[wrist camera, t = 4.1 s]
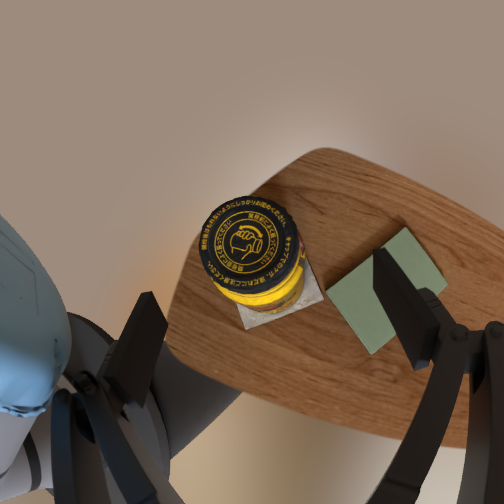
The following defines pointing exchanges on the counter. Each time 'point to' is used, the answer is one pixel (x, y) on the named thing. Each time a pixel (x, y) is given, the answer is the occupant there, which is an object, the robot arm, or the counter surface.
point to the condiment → (258, 259)
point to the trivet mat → (365, 300)
